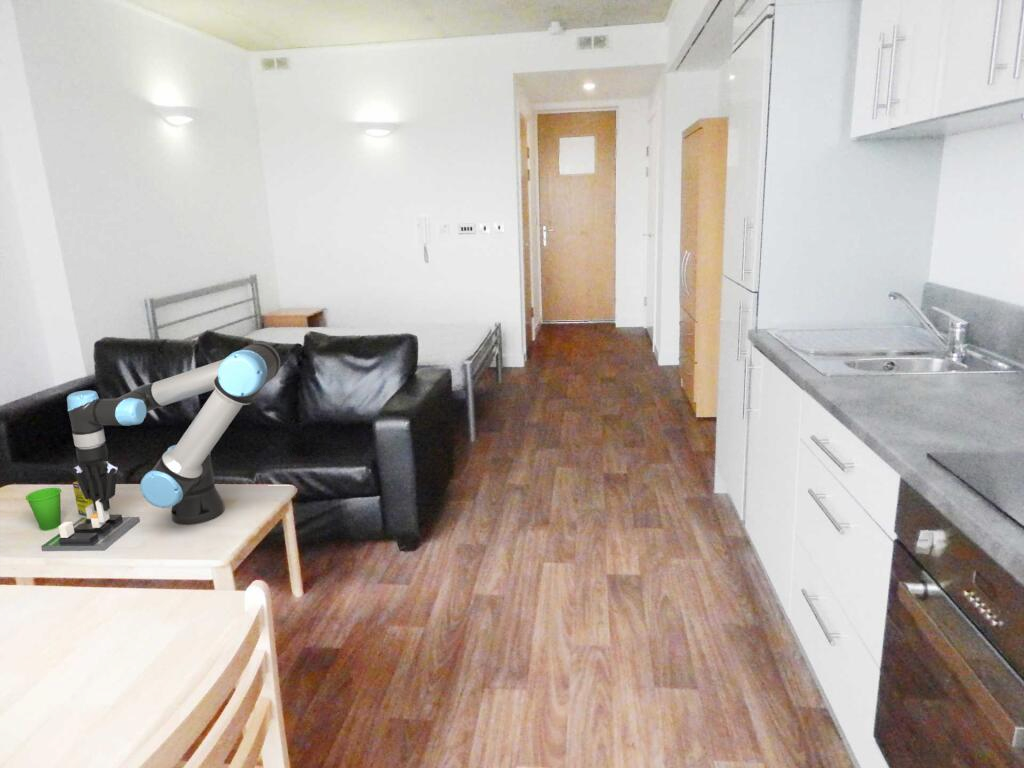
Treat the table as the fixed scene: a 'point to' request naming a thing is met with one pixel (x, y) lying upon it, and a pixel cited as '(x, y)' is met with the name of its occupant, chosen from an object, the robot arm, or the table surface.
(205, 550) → the table surface
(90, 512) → the handle
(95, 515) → the handle
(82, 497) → the supplement box
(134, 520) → the panel
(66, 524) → the handle
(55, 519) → the cup
